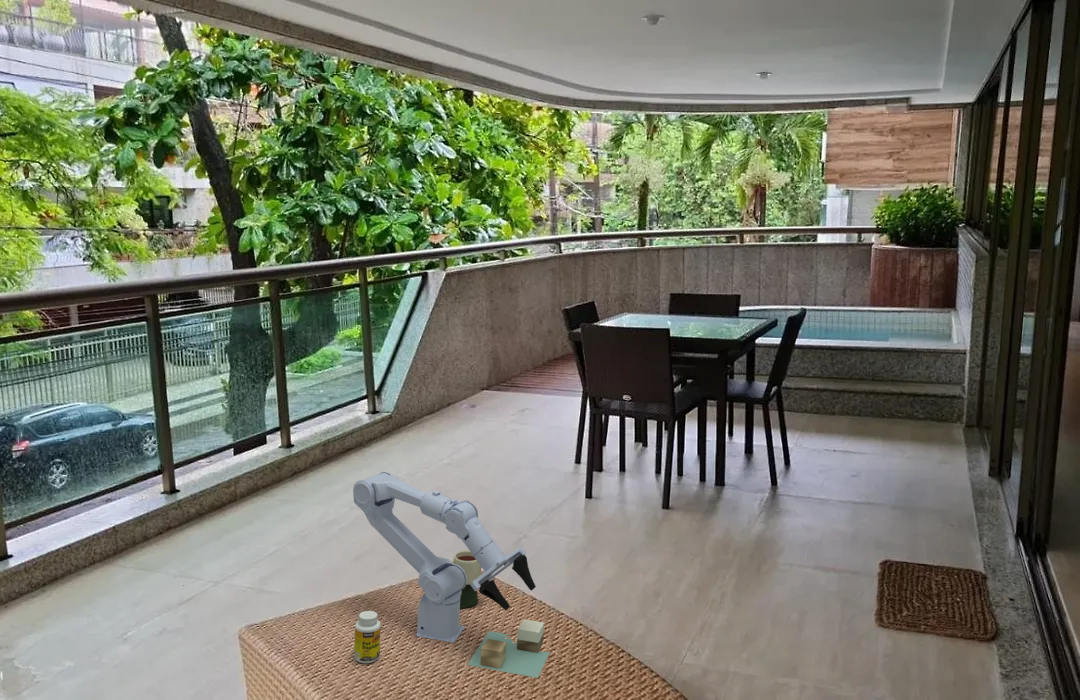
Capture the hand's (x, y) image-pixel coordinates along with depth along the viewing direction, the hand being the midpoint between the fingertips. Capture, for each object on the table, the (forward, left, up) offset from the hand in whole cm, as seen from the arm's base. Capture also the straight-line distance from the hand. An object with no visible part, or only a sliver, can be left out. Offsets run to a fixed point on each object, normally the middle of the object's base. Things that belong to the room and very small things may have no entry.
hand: (520, 598), depth 187 cm
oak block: (-5, -4, -14) cm, 15 cm away
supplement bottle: (-32, -11, -15) cm, 36 cm away
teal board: (-2, +1, -14) cm, 15 cm away
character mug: (-20, +21, -15) cm, 33 cm away
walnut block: (+1, +6, -14) cm, 15 cm away
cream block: (+1, +6, -12) cm, 13 cm away
